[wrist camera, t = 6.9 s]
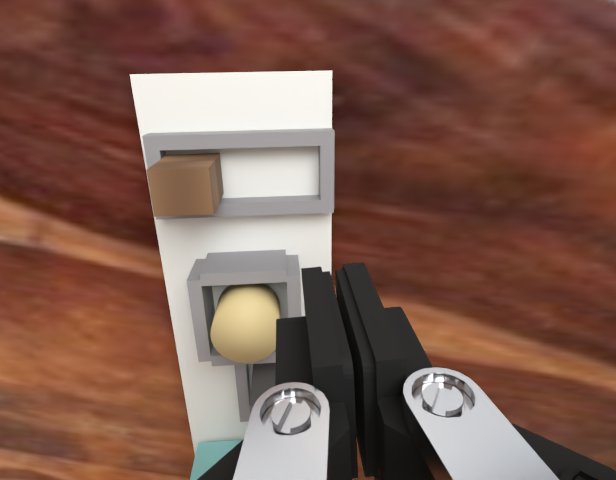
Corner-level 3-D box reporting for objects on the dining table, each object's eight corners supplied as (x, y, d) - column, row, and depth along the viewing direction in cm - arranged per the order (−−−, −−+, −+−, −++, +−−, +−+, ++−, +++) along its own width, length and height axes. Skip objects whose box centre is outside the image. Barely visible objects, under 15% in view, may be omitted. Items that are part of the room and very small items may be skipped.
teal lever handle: (308, 430, 32) (312, 476, 29) (308, 452, 33) (312, 500, 29) (197, 438, 32) (186, 486, 28) (200, 460, 33) (191, 509, 29)
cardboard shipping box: (219, 153, 24) (208, 168, 20) (223, 193, 24) (213, 214, 21) (167, 154, 23) (146, 169, 20) (173, 194, 24) (154, 216, 21)
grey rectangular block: (286, 362, 30) (287, 403, 26) (287, 394, 31) (289, 438, 27) (252, 364, 29) (249, 405, 26) (255, 396, 31) (252, 440, 27)
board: (328, 70, 24) (344, 70, 18) (327, 463, 37) (337, 539, 31) (141, 74, 24) (95, 74, 18) (205, 472, 36) (191, 551, 30)
